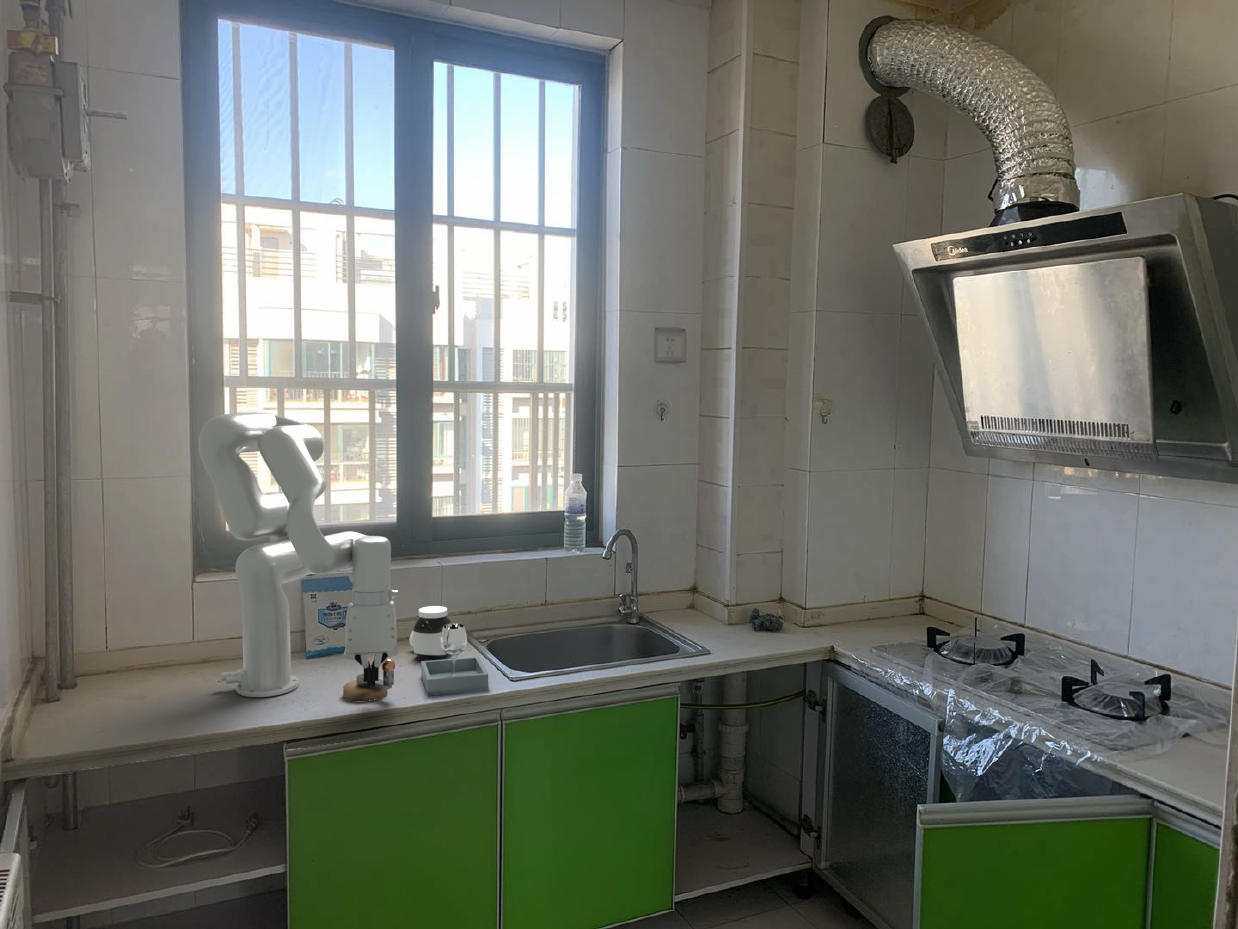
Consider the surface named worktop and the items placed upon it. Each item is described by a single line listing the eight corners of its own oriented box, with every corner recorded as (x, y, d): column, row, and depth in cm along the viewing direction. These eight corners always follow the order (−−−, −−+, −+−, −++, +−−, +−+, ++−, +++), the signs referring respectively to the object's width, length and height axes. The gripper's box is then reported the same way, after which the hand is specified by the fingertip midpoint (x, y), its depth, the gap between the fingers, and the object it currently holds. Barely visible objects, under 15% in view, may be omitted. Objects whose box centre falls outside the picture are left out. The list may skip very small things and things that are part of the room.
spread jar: (436, 664, 207) (436, 616, 206) (395, 658, 211) (394, 611, 210) (461, 650, 218) (461, 604, 217) (422, 645, 222) (421, 600, 221)
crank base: (343, 704, 180) (343, 694, 180) (343, 689, 189) (343, 680, 189) (388, 699, 183) (388, 690, 183) (386, 685, 192) (385, 676, 191)
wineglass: (443, 674, 197) (443, 622, 196) (469, 675, 197) (469, 623, 196) (437, 683, 191) (437, 629, 190) (463, 683, 191) (463, 630, 190)
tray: (427, 695, 186) (427, 679, 185) (421, 676, 198) (421, 661, 198) (488, 689, 190) (488, 674, 189) (478, 671, 202) (478, 656, 202)
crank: (353, 685, 185) (352, 654, 185) (366, 680, 188) (365, 649, 188) (386, 694, 180) (386, 662, 179) (399, 689, 183) (399, 658, 182)
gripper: (407, 591, 184) (406, 676, 185) (332, 594, 179) (332, 681, 181) (410, 600, 177) (409, 688, 178) (333, 603, 172) (332, 694, 174)
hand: (371, 684), depth 179 cm, fingers closed
